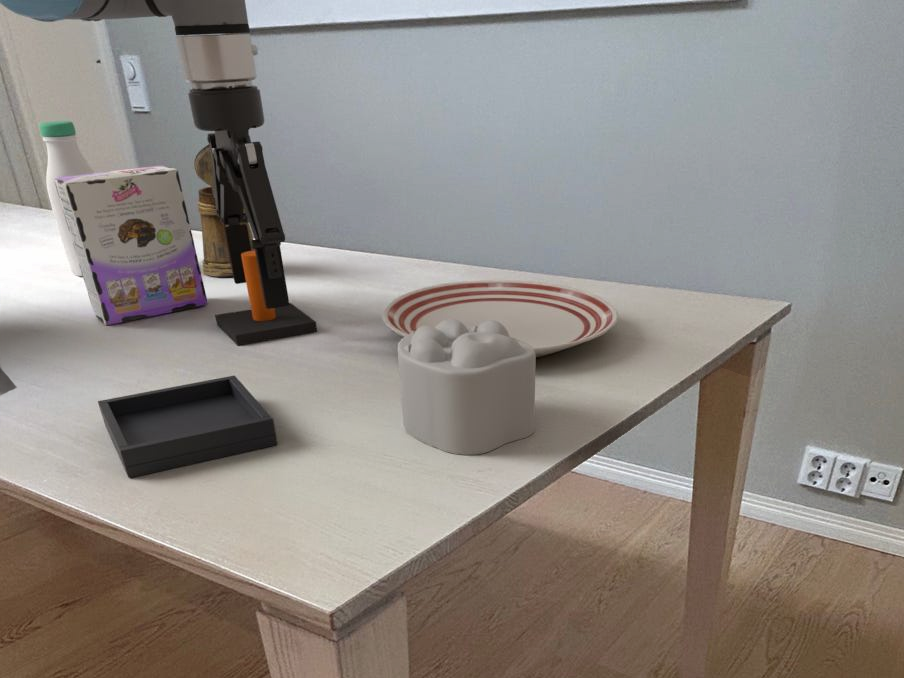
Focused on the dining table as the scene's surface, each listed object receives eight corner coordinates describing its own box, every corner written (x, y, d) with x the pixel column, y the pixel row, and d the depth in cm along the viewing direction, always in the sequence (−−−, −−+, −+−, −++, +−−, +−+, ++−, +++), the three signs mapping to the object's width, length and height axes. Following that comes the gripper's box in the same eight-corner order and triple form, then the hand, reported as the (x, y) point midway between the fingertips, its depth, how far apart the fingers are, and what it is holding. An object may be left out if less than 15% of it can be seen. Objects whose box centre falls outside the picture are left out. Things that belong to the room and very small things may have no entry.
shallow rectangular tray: (105, 426, 79) (97, 401, 78) (239, 399, 84) (234, 375, 82) (128, 478, 70) (120, 451, 68) (278, 445, 75) (273, 418, 73)
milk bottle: (83, 280, 125) (37, 126, 113) (64, 272, 129) (18, 123, 117) (132, 271, 129) (92, 120, 117) (112, 263, 134) (72, 118, 121)
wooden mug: (208, 287, 120) (178, 144, 109) (201, 267, 130) (173, 134, 119) (270, 281, 122) (246, 139, 111) (258, 261, 132) (235, 130, 121)
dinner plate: (633, 311, 105) (636, 283, 103) (590, 386, 84) (591, 353, 82) (432, 298, 112) (430, 272, 110) (346, 365, 91) (342, 334, 89)
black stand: (216, 324, 105) (201, 250, 100) (292, 312, 109) (280, 240, 103) (237, 345, 98) (221, 267, 93) (317, 331, 101) (306, 255, 96)
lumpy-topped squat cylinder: (463, 461, 71) (459, 360, 66) (376, 419, 79) (366, 326, 74) (549, 428, 76) (552, 332, 71) (460, 391, 84) (456, 303, 79)
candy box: (193, 297, 116) (163, 163, 106) (209, 306, 112) (179, 168, 102) (93, 316, 109) (51, 175, 99) (106, 326, 105) (64, 181, 95)
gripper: (293, 87, 80) (324, 312, 93) (227, 78, 98) (261, 268, 111) (216, 92, 78) (259, 324, 90) (163, 82, 95) (206, 276, 108)
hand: (260, 293), depth 101 cm, fingers open, 13 cm apart
